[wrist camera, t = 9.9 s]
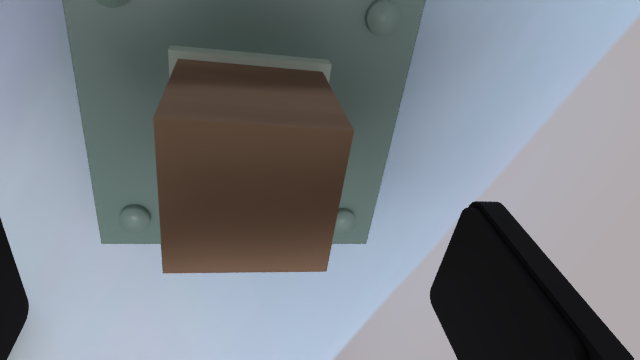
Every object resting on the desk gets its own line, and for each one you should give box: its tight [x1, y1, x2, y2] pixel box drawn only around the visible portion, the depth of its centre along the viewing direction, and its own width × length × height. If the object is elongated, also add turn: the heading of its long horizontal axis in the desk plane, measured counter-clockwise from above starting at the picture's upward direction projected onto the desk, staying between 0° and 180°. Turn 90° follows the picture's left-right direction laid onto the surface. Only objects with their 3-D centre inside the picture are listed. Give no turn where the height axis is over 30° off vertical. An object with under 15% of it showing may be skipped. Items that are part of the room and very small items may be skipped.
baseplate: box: [62, 0, 425, 244], centre depth 17 cm, size 12×12×2 cm
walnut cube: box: [153, 59, 354, 273], centre depth 14 cm, size 5×5×5 cm
